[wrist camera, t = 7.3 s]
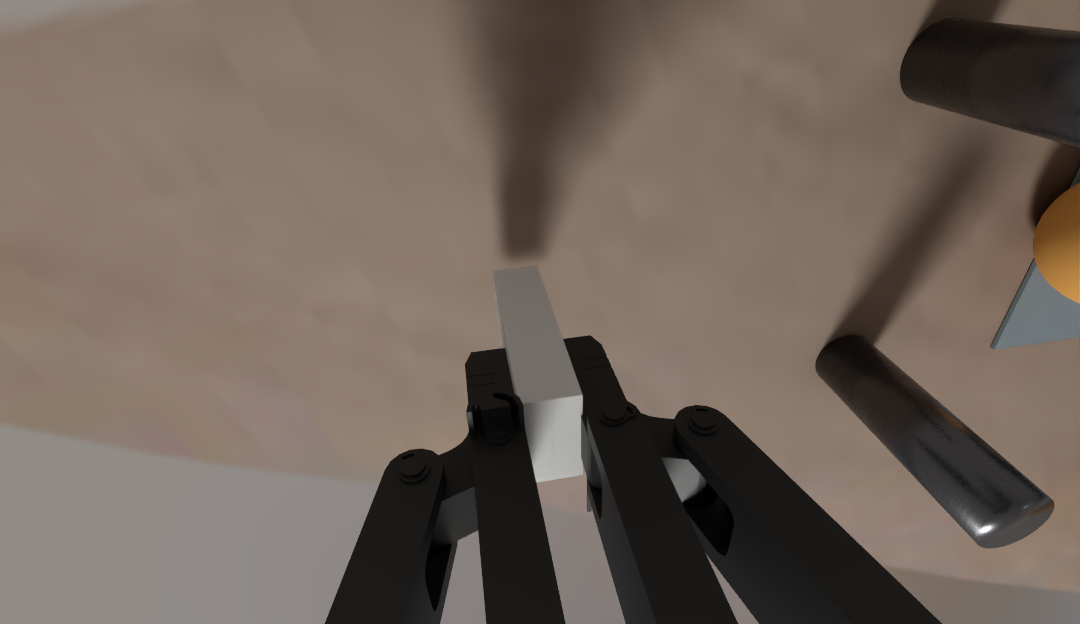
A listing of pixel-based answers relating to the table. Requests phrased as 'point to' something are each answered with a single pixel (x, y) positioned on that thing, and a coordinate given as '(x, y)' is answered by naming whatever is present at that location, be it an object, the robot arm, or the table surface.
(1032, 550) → the table surface
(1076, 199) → the ball
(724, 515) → the robot arm
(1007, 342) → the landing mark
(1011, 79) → the post
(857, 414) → the post
